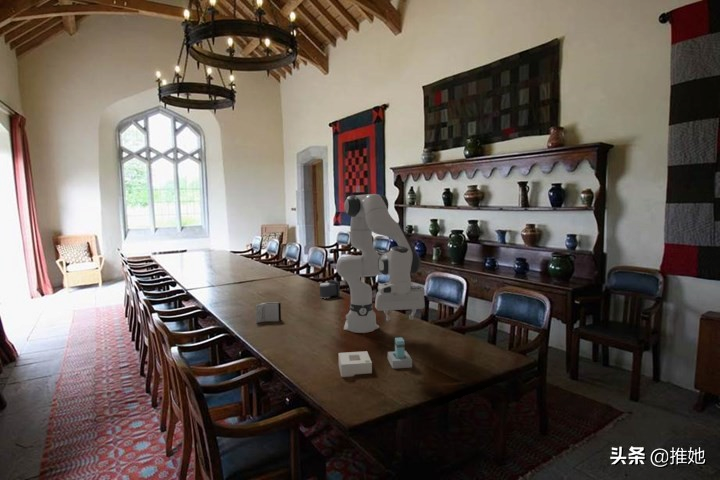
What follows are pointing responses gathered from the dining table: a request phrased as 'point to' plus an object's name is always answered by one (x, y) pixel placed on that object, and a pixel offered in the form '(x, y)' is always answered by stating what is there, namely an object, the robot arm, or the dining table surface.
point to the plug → (399, 348)
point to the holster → (400, 360)
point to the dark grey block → (329, 289)
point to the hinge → (268, 312)
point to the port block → (354, 363)
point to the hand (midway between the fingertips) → (399, 319)
